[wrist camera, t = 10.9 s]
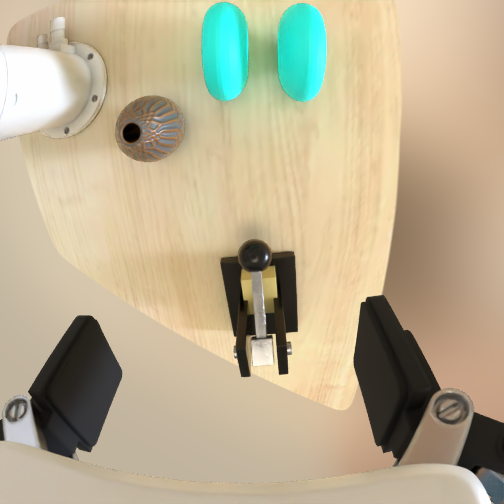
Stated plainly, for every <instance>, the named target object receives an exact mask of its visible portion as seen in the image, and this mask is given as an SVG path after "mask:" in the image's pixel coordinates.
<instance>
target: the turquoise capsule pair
mask: <svg viewBox="0 0 504 504" xmlns="http://www.w3.org/2000/svg"><path fill="white" fill-rule="evenodd" d="M277 55H278V75H279V80H280V83H281V86H282V88H283V89H284V91H285V92H286V94H287V95H288V96H289V97H291V98H292V99H294V100H296V101H300V102H305V101H309V100H311V99H313V98H314V97H315V96H316V95H317V94H318V92H319V90H320V88H321V85H322V82H323V78H324V73H325V66H326V31H325V25H324V21H323V18H322V16H321V14H320V12H319V11H318V10H317V9H316V8H315V7H314V6H312V5H310V4H306V3H298V4H295V5H293V6H291V7H289V8H288V9H287V10H286V11H285V13H284V14H283V16H282V18H281V20H280V23H279V29H278V47H277ZM248 61H249V56H248V26H247V21H246V18H245V16H244V14H243V13H242V11H241V10H240V9H239V8H238V7H237V6H235V5H233V4H231V3H227V2H220V3H217V4H215V5H213V6H212V7H210V8H209V10H208V11H207V13H206V15H205V18H204V22H203V28H202V63H203V71H204V77H205V82H206V85H207V88H208V91H209V92H210V94H211V95H212V96H213V97H214V98H216V99H218V100H221V101H229V100H232V99H234V98H235V97H237V96H238V95H239V94H240V93H241V92H242V90H243V89H244V87H245V85H246V82H247V78H248Z"/></svg>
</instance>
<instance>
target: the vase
mask: <svg viewBox="0 0 504 504" xmlns="http://www.w3.org/2000/svg"><path fill="white" fill-rule="evenodd" d="M184 130H185V122H184V117H183V115H182V112H181V111H180V109H179V108H178V106H177V105H176V104H175V103H173V102H172V101H170V100H169V99H166V98H164V97H160V96H145V97H141V98H139V99H136V100H135V101H133V102H131V103H130V104H129V105H128V106H126V107H125V108H124V110H123V111H122V112H121V114H120V115H119V117H118V120H117V123H116V128H115V135H116V140H117V143H118V145H119V147H120V149H121V150H122V151H123V152H124V153H125V154H126V155H127V156H129V157H130V158H132V159H134V160H137V161H141V162H154V161H158V160H161V159H163V158H165V157H167V156H168V155H170V154H171V153H172V152H173V151H174V150H175V149H176V148H177V147H178V146H179V144H180V142H181V141H182V138H183V135H184Z"/></svg>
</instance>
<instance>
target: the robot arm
mask: <svg viewBox="0 0 504 504" xmlns="http://www.w3.org/2000/svg"><path fill="white" fill-rule="evenodd" d="M64 31H65V18H64V17H58V18H55V19H53V20H51V21H50V34H51V42H50V43H49V44H48V49H47V43H48V41H47V34H43V35H40V36H38V37H37V46H38V48H34V47H26V46H16V45H3V44H0V141H2V140H5V139H8V138H13V137H16V136H20V135H24V134H28V133H33V132H37V131H39V132H41V133H42V134H44V135H45V136H47V137H50V138H57V139H60V138H66V137H70V136H73V135H75V134H77V133H79V132H81V131H82V130H83V129H84V128H86V127H87V126H88V125H89V124H90V123H91V122H92V120H93V119H94V118H95V116H96V115H97V113H98V112H99V110H100V107H101V105H102V103H103V100H104V97H105V93H106V86H107V72H106V67H105V64H104V61H103V59H102V57H101V56H100V54H99V53H98V52H97V51H96V50H95V49H94V48H93V47H91V46H89V45H87V44H84V43H80V42H68V39H67V38H65V35H64ZM97 97H98V100H97ZM354 368H355V372H356V375H357V378H358V382H359V385H360V389H361V392H362V396H363V399H364V403H365V406H366V409H367V413H368V417H369V421H370V424H371V428H372V432H373V436H374V439H375V443H376V445H377V446H381V447H382V450H383V453H386V452H390V451H392V452H393V455H394V457H395V458H396V461H395V463H394V465H393V467H389V468H384V469H379V470H373V471H367V472H361V473H355V474H350V475H343V476H336V477H329V478H322V479H313V480H301V481H290V482H276V483H211V482H196V481H184V480H175V479H166V478H159V477H152V476H145V475H139V474H134V473H128V472H123V471H118V470H114V469H109V468H104V467H101V466H96V465H93V464H89V463H85V462H81V461H79V460H78V457H77V454H76V452H75V450H76V448H78V449H80V450H83V451H87V452H91V450H92V447H93V446H94V445H95V444H96V443H97V441H98V438H99V435H100V432H101V430H102V427H103V424H104V422H105V419H106V416H107V414H108V411H109V408H110V406H111V403H112V401H113V398H114V396H115V393H116V391H117V388H118V386H119V383H120V381H121V378H122V370H121V367H120V366H119V363H118V362H117V360H116V358H115V356H114V354H113V352H112V350H111V348H110V346H109V344H108V342H107V340H106V338H105V336H104V334H103V332H102V330H101V328H100V325H99V323H98V321H97V320H95V319H94V318H93V317H92V316H82V315H81V316H77V317H76V318H75V319H74V321H73V322H72V324H71V325H70V327H69V328H68V330H67V331H66V333H65V334H64V336H63V337H62V339H61V340H60V341H59V343H58V344H57V346H56V348H55V349H54V351H53V352H52V354H51V355H50V357H49V358H48V360H47V361H46V363H45V365H44V366H43V368H42V369H41V371H40V373H39V374H38V376H37V378H36V379H35V381H34V383H33V384H32V386H31V388H30V389H29V391H28V392H29V394H30V395H31V396H32V398H31V400H30V399H29V398H28V397H27V396H24V395H17V396H14V397H13V398H11V399H10V400H9V401H8V402H7V403H6V404H5V406H4V408H3V411H2V419H1V420H0V504H491V502H493V503H494V504H504V423H502V422H499V421H496V420H494V419H491V418H488V417H485V416H483V415H480V414H478V413H475V412H474V406H473V402H472V400H471V399H470V397H469V396H468V395H467V394H466V393H465V392H463V391H460V390H459V389H454V388H447V389H443V390H441V389H440V387H439V384H438V383H437V381H436V378H435V377H434V374H433V373H432V371H431V368H430V366H429V365H428V363H427V361H426V359H425V357H424V355H423V353H422V351H421V349H420V347H419V346H418V344H417V342H416V340H415V338H414V336H413V335H412V333H411V332H410V331H409V330H403V328H402V326H401V325H400V323H399V321H398V319H397V317H396V316H395V314H394V312H393V310H392V308H391V306H390V305H389V303H388V301H387V299H386V298H385V296H384V295H380V296H372V297H367V298H366V302H362V303H361V307H360V315H359V324H358V332H357V339H356V346H355V353H354ZM487 494H488V495H489V496H490V497H491V498H490V499H489V497H488V495H487Z"/></svg>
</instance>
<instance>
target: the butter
mask: <svg viewBox="0 0 504 504" xmlns="http://www.w3.org/2000/svg"><path fill="white" fill-rule="evenodd" d="M262 281H263V293H264V305H265V313H274V301H273V298H277V285H276V274H275V266H269V267H268V268H267V269H266V270H264V271H263V272H262ZM241 286H242V292H243V299H244V300H248V304H249V311H250V314H254V306H253V294H252V281H251V273H250V272H247V271H245V270H244V269H242V273H241Z"/></svg>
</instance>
